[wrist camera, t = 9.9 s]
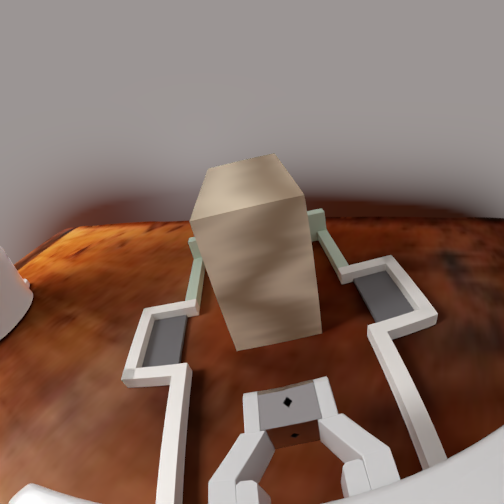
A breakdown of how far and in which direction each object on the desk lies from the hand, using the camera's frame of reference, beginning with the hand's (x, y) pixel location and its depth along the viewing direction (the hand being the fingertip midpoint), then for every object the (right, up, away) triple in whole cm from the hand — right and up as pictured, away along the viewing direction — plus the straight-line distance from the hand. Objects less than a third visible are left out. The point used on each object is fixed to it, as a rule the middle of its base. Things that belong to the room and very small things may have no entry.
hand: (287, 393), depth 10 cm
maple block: (0, +2, +15) cm, 15 cm away
